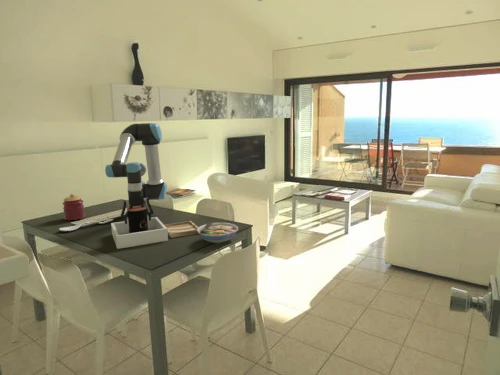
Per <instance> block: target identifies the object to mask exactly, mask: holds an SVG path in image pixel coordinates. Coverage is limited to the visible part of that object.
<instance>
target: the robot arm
mask: <svg viewBox="0 0 500 375" xmlns="http://www.w3.org/2000/svg"><path fill="white" fill-rule="evenodd" d="M162 140H163V136H162V130H161V127H160V125H159V124H158V123H155V122H154V123H152V122H148V123H147V122H146V123H143V122H141V123H133V124H129V125H128V126H127V127H126V128H124V129H123V131H122V132H121V133H120V136H119V144H118V146H117V149H116V152H115V154H114V156H113V157H114V158H113V159H112V160H113V161H112V163H110V164H106V166H105V169H104V171H105V175H106V177H107V178H127V194H128V199H124V200H122V201H123V203H122V204H123V205H122V209H121V213H120V218H121V219H124V220H123V222H125V224H127V229H128V230H129V222H128V212H129V211H128V210H127V205H128V207H129V209H131V208H133V206H134V207H136V206H140V205H141V206H142V207H145V206H146V211H147V221H148V227H150V226H149V221H151V218H152V217H151V216H152V215H153V214H154V210H153V207H152V206H151V204H150V201H160V200H164V199H166V196H167V190H168V189H167V187H168V184H167V182H165V181H164V179H162V174H161V173H162V172H161V163H160V155H159V154H160V153H159V145H160V143H161V141H162ZM136 142H141V144H142V146H143V147H144V152H145V161H146V165H145V164H144V163H142V162H138V161H136V162H135V161H133V162H128V159H129V155H130V152H131V149H132V147H133V145H134V144H135V143H136ZM127 162H128V163H127ZM146 173H147V177H148V178H147V179H148V180H147V181H146V183H145V181H142V177H143V176H144V175H145V174H146Z"/></svg>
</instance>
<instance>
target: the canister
mask: <svg viewBox="0 0 500 375" xmlns="http://www.w3.org/2000/svg"><path fill="white" fill-rule="evenodd" d="M83 203H84V200H82V197H81V196H79V195H75V194H74V193H70V195H69V196H67V197H65V198H63V202H62V205H63V207H62V208H63V209H62V210H63V217H64V221H66V220H68V221H67V222H71V221H70V220H77V219H81V218H84V217H85V216H86V214H85V208H84V207H85V206H84V204H83ZM85 218H86V217H85ZM85 218H84V219H85ZM81 220H82V219H81ZM77 221H78V220H77Z"/></svg>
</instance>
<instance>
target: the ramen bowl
mask: <svg viewBox="0 0 500 375" xmlns="http://www.w3.org/2000/svg"><path fill="white" fill-rule="evenodd" d="M197 227H198V229H197V232H198V233H199V234H198V235H199V236H200V237H201V238H202V239H203V240H205V241H207V242H209V243H213V244H222V243H225V242H227V241H230V239H232V238H234V237H235V235H236V234H237V232H238V231H239V226H237V225H236V224H234V223H229V222H215V220H213V219H212V220H211V219H210V220H209V221H208V222H207V223H205V224H203V225H200V226H197Z"/></svg>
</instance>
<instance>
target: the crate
mask: <svg viewBox="0 0 500 375" xmlns="http://www.w3.org/2000/svg"><path fill="white" fill-rule="evenodd" d="M110 225H111V226H110V227H111V235H112V238H113V241H114V244H115V246H116V249H117V250H118V249H124V248H130V247H131V248H132V247H138V246H144V245H149V244H155V243H162V242H168V241H169V235H168V233H167V228H166V227H165V226H164V225H165V224H164V223H163V222H162V221H161V220H160V219H159V218H158V217H157V216H154V217H151V221H149V226H150V227H148V231H143V232H136V233H129V230H128V229H127V224H125V222H124V221H118V222H116V221H115V222H111V223H110Z"/></svg>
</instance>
